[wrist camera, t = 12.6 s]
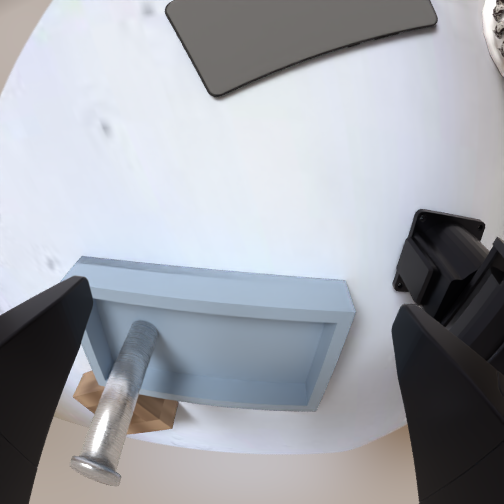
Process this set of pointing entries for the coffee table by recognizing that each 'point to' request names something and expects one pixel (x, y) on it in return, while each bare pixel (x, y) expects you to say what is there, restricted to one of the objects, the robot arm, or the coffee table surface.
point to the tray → (219, 332)
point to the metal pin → (116, 407)
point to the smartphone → (281, 32)
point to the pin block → (145, 412)
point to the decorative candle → (494, 30)
